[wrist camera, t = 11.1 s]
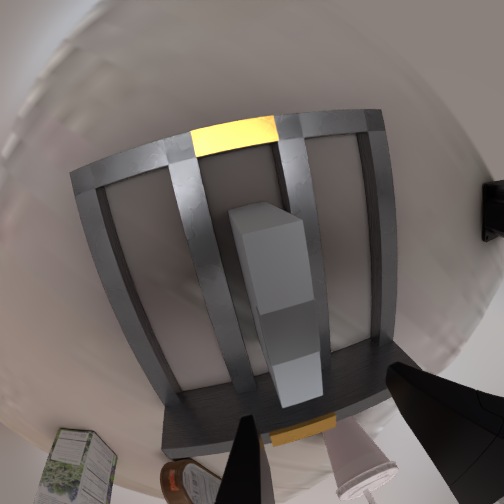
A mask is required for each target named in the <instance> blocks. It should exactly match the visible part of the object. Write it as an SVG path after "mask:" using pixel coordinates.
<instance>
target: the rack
mask: <svg viewBox="0 0 504 504" xmlns="http://www.w3.org/2000/svg"><path fill="white" fill-rule="evenodd" d="M344 134H357V138H358V144H359V150H360V155H361V162H362V168H363V175H364V182H365V190H366V199H367V208H368V219H369V231H370V247H371V270H372V320H371V338H369V339H367V340H364V341H362V342H360V343H357V344H354V345H352V346H349V347H347V348H344V349H341V350H339V351H336V352H333V353H331V348H330V330H329V316H328V304H327V292H326V282H325V272H324V263H323V254H322V246H321V238H320V231H319V223H318V216H317V210H316V203H315V197H314V191H313V185H312V179H311V173H310V167H309V162H308V157H307V151H306V146H305V141H304V139H307V138H315V137H324V136H333V135H344ZM267 144H272V149H273V154H274V159H275V164H276V169H277V174H278V179H279V184H280V189H281V195H282V200H283V205H284V211H286V212H288V213H290V214H292V215H294V216H296V217H297V218H299V219H301V220H303V225H304V232H305V238H306V244H307V251H308V258H309V265H310V272H311V279H312V287H313V295H314V298H315V302H316V311H317V320H318V329H319V339H320V350H321V351H320V361H321V373H322V387H323V395H322V396H319V397H316V398H313V399H310V400H307V401H304V402H301V403H298V404H295V405H292V406H288V407H285V408H282V406H281V403H280V400H279V397H278V394H277V391H276V388H275V386H274V383H273V380H272V377H271V374H270V373H266V374H263V375H259V376H255V377H254V376H253V373H252V369H251V366H250V362H249V359H248V356H247V352H246V349H245V345H244V342H243V338H242V335H241V331H240V327H239V324H238V320H237V317H236V313H235V309H234V306H233V302H232V298H231V295H230V291H229V287H228V283H227V279H226V276H225V272H224V268H223V264H222V260H221V256H220V252H219V248H218V244H217V240H216V236H215V232H214V228H213V224H212V220H211V216H210V211H209V207H208V203H207V199H206V194H205V190H204V186H203V181H202V177H201V172H200V168H199V164H198V159H199V158H203V157H207V156H211V155H216V154H220V153H225V152H230V151H234V150H239V149H245V148H250V147H255V146H261V145H267ZM168 166H169V170H170V174H171V179H172V183H173V187H174V191H175V196H176V200H177V204H178V208H179V212H180V216H181V219H182V223H183V227H184V231H185V235H186V238H187V242H188V246H189V249H190V253H191V256H192V260H193V263H194V267H195V270H196V273H197V277H198V280H199V284H200V287H201V290H202V293H203V297H204V300H205V303H206V306H207V309H208V312H209V316H210V319H211V322H212V325H213V328H214V331H215V334H216V337H217V340H218V343H219V345H220V348H221V351H222V354H223V357H224V360H225V362H226V365H227V368H228V371H229V374H230V376H231V379H232V382H230V383H225V384H221V385H216V386H211V387H206V388H201V389H195V390H189V391H183V392H182V390H181V388H180V386H179V385H178V383H177V381H176V379H175V377H174V375H173V373H172V371H171V369H170V367H169V365H168V363H167V361H166V359H165V357H164V355H163V353H162V351H161V349H160V346H159V344H158V342H157V340H156V338H155V336H154V333H153V331H152V329H151V326H150V324H149V322H148V319H147V317H146V315H145V312H144V310H143V307H142V305H141V302H140V300H139V297H138V295H137V292H136V290H135V287H134V284H133V281H132V279H131V276H130V273H129V270H128V268H127V265H126V262H125V259H124V256H123V253H122V250H121V246H120V243H119V240H118V237H117V234H116V230H115V227H114V223H113V220H112V216H111V213H110V209H109V205H108V201H107V197H106V193H105V189H104V187H105V186H108V185H110V184H113V183H116V182H119V181H122V180H125V179H128V178H131V177H134V176H138V175H141V174H144V173H147V172H151V171H154V170H157V169H161V168H164V167H168ZM70 177H71V182H72V186H73V191H74V195H75V199H76V203H77V207H78V211H79V215H80V218H81V222H82V225H83V229H84V232H85V235H86V239H87V242H88V245H89V248H90V251H91V254H92V257H93V260H94V263H95V266H96V268H97V271H98V274H99V276H100V279H101V282H102V284H103V287H104V289H105V292H106V294H107V297H108V299H109V301H110V304H111V306H112V308H113V311H114V313H115V315H116V317H117V320H118V322H119V324H120V326H121V328H122V330H123V332H124V335H125V337H126V339H127V341H128V343H129V345H130V347H131V349H132V351H133V352H134V354H135V356H136V358H137V360H138V362H139V364H140V366H141V367H142V369H143V371H144V373H145V374H146V376H147V378H148V380H149V381H150V383H151V385H152V387H153V388H154V390H155V392H156V393H157V395H158V396H159V398H160V400H161V401H162V403H163V404H164V406H165V410H164V421H163V433H162V447H161V450H162V451H163V452H164V453H165V454H166V455H167V456H168V457H169V458H170V459H173V458H186V457H195V456H204V455H211V454H218V453H224V452H230V451H231V448H232V445H233V441H234V438H235V435H236V431H237V428H238V425H239V421H240V418H241V417H242V416H244V415H249V414H253V415H254V417H255V419H256V422H257V425H258V428H259V431H260V434H261V438H262V441H263V445H264V444H268V443H272V444H273V447H275V446H279V445H282V444H286V443H289V442H293V441H296V440H299V439H303V438H306V437H309V436H312V435H315V434H318V433H321V432H323V431H326V430H329V429H332V428H334V427H336V422H337V421H340V420H342V419H345V418H347V417H350V416H352V415H354V414H357V413H359V412H361V411H364V410H366V409H368V408H370V407H372V406H374V405H377V404H379V403H381V402H383V401H385V400H387V399H389V398H391V397H392V396H391V394H390V392H389V390H388V388H387V386H386V383H385V378H386V372H387V367H388V365H390V364H392V363H394V362H396V361H399V362H402V363H404V364H407V365H409V366H412V367H415V368H417V369H420V370H422V369H421V368H420V367H419V366H418V365H417V364H416V363H415V362H414V361H413V360H412V359H411V358H410V357H409V356H408V355H407V354H406V353H405V352H404V351H403V350H402V349H401V348H400V347H399V346H398V345H397V344H396V343H395V342H394V341H393V335H394V325H395V313H396V297H397V224H396V208H395V196H394V186H393V177H392V169H391V161H390V154H389V148H388V142H387V136H386V131H385V125H384V120H383V116H382V111H381V109H360V110H333V111H318V112H306V113H296V114H287V115H279V116H274V115H272V116H265V117H258V118H252V119H246V120H240V121H235V122H229V123H224V124H219V125H214V126H210V127H205V128H201V129H197V130H192V131H191V132H188V133H184V134H180V135H176V136H173V137H169V138H165V139H162V140H158V141H155V142H151V143H148V144H145V145H142V146H139V147H136V148H132V149H129V150H126V151H124V152H121V153H118V154H115V155H112V156H109V157H107V158H104V159H101V160H99V161H96V162H94V163H91V164H89V165H86V166H84V167H81V168H79V169H77V170H74V171H72V172H70Z"/></svg>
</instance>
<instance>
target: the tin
mask: <svg viewBox="0 0 504 504" xmlns="http://www.w3.org/2000/svg"><path fill="white" fill-rule="evenodd" d="M221 480H222V479H220V478H219V477H217V476H216V475H214V474H213V473H211V472H210V471H208V470H207V469H205V468H204V467H203V466H201V465H200V464H198V463H197V462H195V461H193V460H190V459H184V460H180V461H176V462H168V463H166V464H165V465H164V466H163V467H162V470H161V473H160V484H161V489H162V492H163V495H164V498H165V500H166V502H167V503H168V504H214V502H216V501H215V499H216V496H217V493H218V490H219V486H220V483H221Z"/></svg>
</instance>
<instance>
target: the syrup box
mask: <svg viewBox="0 0 504 504" xmlns="http://www.w3.org/2000/svg"><path fill="white" fill-rule="evenodd" d="M116 463H117V456H116V455H115V454H114V453H113V452H112V451H111V450H110V449H109V447H108V446H107V445H106V444H105V443H104V442H103V441H102V440H101V439H100V438H99V437H98V436H97V435H96V434H95V432H92V431H79V430H68V429H59V430H58V432H57V435H56V437H55V440H54V443H53V445H52V448H51V451H50V453H49V456H48V459H47V462H46V465H45V467H44V470H43V474H42V477H41V480H40V483H39V486H38V490H37V493H36V497H35V500H34V504H110V500H111V493H112V492H111V491H112V486H113V480H114V474H115V468H116Z"/></svg>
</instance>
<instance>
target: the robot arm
mask: <svg viewBox="0 0 504 504" xmlns="http://www.w3.org/2000/svg"><path fill="white" fill-rule="evenodd" d="M483 193H484V218H483V241H484V242H488V241H490V240H492V239H494V238H496V237H498V236H500V237H503V238H504V180H500V181H494V182H489V183H485V184H484V186H483ZM385 383H386V386H387V388H388V390H389V392H390V394H391V396H392V397H393V399H394V401H395V403H396V405H397V407H398V409H399V411H400V413H401V415H402V416H403V418H404V420H405V421H406V423H407V424H408V426H409V427H410V428H411V430H412V431H413V433H414V434H415V436H416V437H417V439H418V440H419V442H420V443H421V445H422V446H423V448H424V449H425V451H426V452H427V454H428V455H429V457H430V458H431V460H432V461H433V463H434V465H435V466H436V468H437V469H438V471H439V472H440V474H441V475H442V477H443V479H444V480H445V482H446V483H447V485H448V486H449V488H450V490H451V491H452V493H453V495H454V496H455V498H456V499H457V501H458V502H459V504H493V503H495V502H496V501H499V503H500V504H504V397H500V396H496V395H492V394H489V393H485V392H482V391H479V390H475V389H473V388H470V387H467V386H464V385H461V384H458V383H455V382H453V381H450V380H447V379H444V378H441V377H439V376H436V375H433V374H431V373H428V372H425V371H423V370H420V369H417V368H415V367H412V366H409V365H407V364H404V363H402V362H399V361H396V362H394V363H392V364H390V365H388V367H387V372H386V378H385ZM215 501H216V502H214V504H275V500H274V493H273V486H272V479H271V472H270V466H269V462H268V459H267V455H266V452H265V449H264V445H263V441H262V438H261V434H260V431H259V428H258V425H257V422H256V419H255V417H254V415H253V414H249V415H244V416H242V417H241V418H240V421H239V425H238V428H237V431H236V435H235V438H234V441H233V445H232V448H231V451H230V455H229V458H228V461H227V464H226V468H225V471H224V474H223V477H222V480H221V483H220V486H219V490H218V493H217V496H216V499H215Z"/></svg>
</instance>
